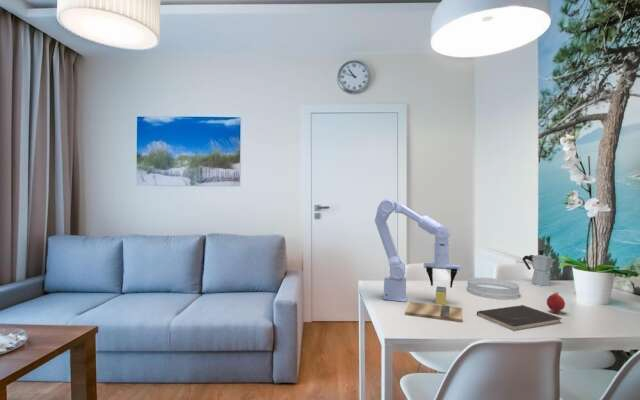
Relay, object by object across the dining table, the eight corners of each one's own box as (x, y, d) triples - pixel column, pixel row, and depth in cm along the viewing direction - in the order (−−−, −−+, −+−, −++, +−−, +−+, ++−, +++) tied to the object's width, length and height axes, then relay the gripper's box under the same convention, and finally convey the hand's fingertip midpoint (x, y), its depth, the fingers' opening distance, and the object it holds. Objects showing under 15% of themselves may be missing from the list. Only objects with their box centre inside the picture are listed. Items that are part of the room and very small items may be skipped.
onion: (559, 315, 128) (559, 294, 128) (543, 311, 134) (543, 291, 134) (567, 313, 131) (568, 293, 131) (551, 309, 136) (552, 289, 136)
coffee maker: (557, 285, 175) (557, 250, 175) (554, 288, 169) (554, 252, 169) (524, 280, 186) (524, 247, 186) (520, 283, 179) (520, 249, 179)
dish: (528, 295, 157) (529, 284, 157) (504, 303, 145) (504, 291, 145) (482, 285, 176) (483, 275, 176) (457, 291, 163) (457, 281, 163)
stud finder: (435, 304, 142) (435, 290, 142) (436, 299, 148) (436, 286, 148) (445, 305, 140) (446, 291, 140) (446, 300, 147) (446, 287, 147)
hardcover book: (561, 324, 121) (561, 317, 121) (513, 332, 113) (513, 325, 113) (521, 310, 136) (521, 304, 136) (476, 316, 129) (476, 310, 129)
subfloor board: (405, 314, 128) (405, 311, 128) (409, 304, 141) (409, 301, 141) (462, 322, 121) (462, 318, 121) (461, 310, 134) (461, 307, 134)
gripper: (459, 253, 145) (459, 285, 145) (424, 251, 151) (424, 282, 151) (460, 256, 139) (459, 289, 139) (423, 254, 144) (423, 286, 144)
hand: (441, 286), depth 144 cm, fingers open, 7 cm apart
